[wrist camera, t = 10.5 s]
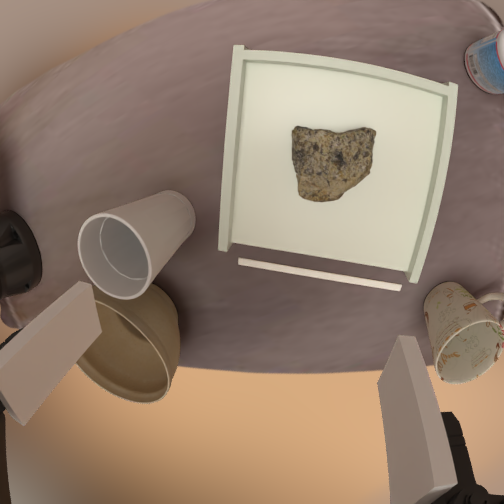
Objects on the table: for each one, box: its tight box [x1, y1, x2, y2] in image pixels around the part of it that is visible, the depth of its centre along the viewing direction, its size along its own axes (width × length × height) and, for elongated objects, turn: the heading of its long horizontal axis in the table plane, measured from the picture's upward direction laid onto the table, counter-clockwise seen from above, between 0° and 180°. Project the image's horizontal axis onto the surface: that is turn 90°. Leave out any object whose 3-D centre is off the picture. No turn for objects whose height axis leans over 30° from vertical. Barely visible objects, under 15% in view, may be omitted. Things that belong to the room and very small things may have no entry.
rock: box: [291, 126, 376, 202], centre depth 26 cm, size 7×8×4 cm
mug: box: [423, 282, 504, 384], centre depth 27 cm, size 8×13×10 cm, turn 118°
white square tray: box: [218, 45, 458, 283], centre depth 28 cm, size 22×21×2 cm
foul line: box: [238, 257, 402, 291], centre depth 34 cm, size 19×1×1 cm, turn 85°
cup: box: [78, 190, 196, 300], centre depth 30 cm, size 8×8×12 cm
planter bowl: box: [75, 283, 180, 404], centre depth 37 cm, size 16×16×11 cm
